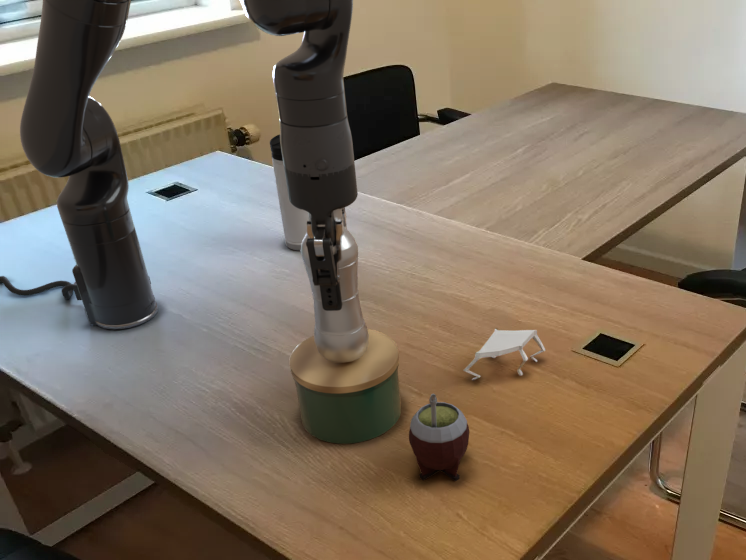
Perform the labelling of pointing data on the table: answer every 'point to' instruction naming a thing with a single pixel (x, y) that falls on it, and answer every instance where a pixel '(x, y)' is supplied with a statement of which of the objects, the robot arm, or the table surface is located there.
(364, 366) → the crock
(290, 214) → the travel mug
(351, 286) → the silver metal bottle
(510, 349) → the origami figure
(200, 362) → the table surface
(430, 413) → the mate gourd
